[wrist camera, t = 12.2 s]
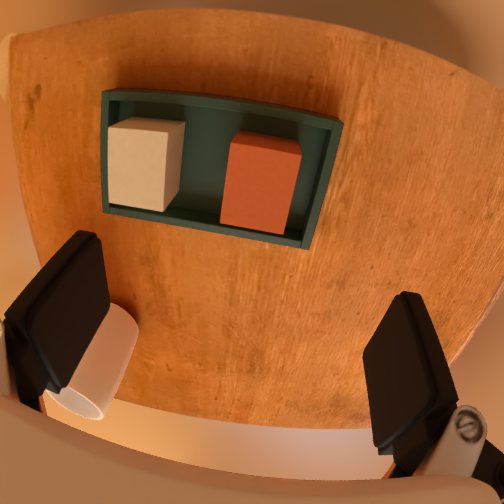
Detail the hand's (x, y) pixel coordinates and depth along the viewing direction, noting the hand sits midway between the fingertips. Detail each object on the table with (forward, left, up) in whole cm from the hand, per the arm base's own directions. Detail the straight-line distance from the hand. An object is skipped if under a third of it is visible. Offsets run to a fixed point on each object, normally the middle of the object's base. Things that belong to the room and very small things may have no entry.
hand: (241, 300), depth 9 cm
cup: (+29, +7, -20) cm, 36 cm away
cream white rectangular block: (+9, -5, -19) cm, 21 cm away
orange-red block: (+2, +2, -19) cm, 19 cm away
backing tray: (+5, -2, -19) cm, 20 cm away
